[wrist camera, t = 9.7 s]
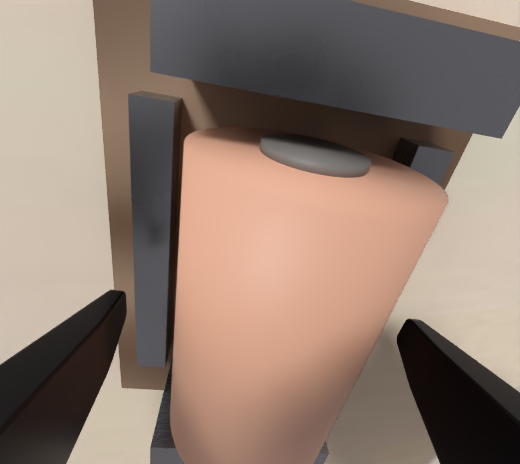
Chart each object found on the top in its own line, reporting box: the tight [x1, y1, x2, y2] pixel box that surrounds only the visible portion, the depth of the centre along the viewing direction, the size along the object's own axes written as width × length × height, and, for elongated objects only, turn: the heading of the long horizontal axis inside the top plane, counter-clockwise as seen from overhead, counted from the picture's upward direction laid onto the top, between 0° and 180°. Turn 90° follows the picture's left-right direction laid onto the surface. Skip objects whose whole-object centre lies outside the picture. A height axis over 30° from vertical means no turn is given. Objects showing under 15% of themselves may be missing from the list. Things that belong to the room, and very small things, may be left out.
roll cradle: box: [93, 0, 520, 464], centre depth 11 cm, size 18×12×5 cm, turn 170°
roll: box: [170, 127, 449, 464], centre depth 10 cm, size 10×6×6 cm, turn 170°
